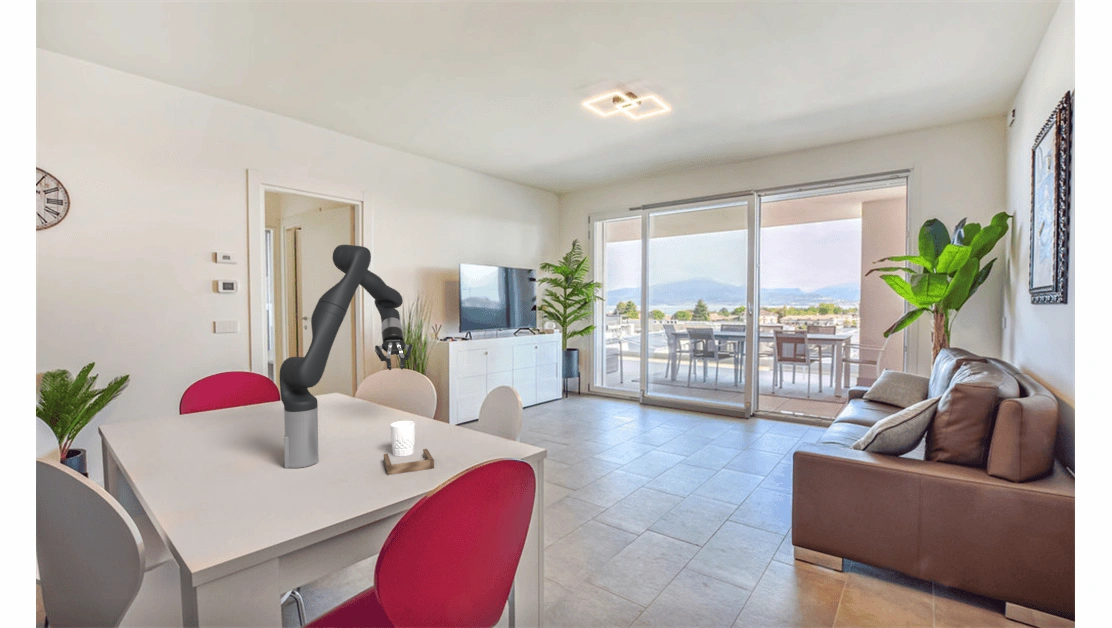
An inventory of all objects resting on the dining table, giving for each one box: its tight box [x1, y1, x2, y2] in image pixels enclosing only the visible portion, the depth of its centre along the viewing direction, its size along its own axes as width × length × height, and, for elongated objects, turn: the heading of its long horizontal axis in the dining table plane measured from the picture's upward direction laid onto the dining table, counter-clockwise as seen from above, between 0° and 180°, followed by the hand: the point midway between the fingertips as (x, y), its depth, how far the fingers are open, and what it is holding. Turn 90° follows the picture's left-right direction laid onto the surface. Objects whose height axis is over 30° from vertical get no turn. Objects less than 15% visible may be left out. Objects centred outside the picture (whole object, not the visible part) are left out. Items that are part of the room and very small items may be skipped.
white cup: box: [390, 420, 416, 458], centre depth 164 cm, size 8×8×10 cm
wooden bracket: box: [383, 448, 435, 476], centre depth 153 cm, size 13×12×2 cm
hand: (396, 368), depth 178 cm, fingers open, 3 cm apart
